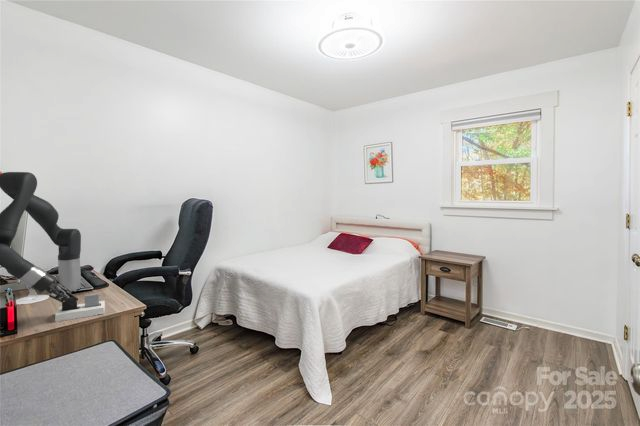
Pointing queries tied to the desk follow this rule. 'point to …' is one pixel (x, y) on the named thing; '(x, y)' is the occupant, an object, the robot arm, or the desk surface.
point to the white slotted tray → (82, 309)
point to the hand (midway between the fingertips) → (75, 302)
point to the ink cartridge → (67, 306)
